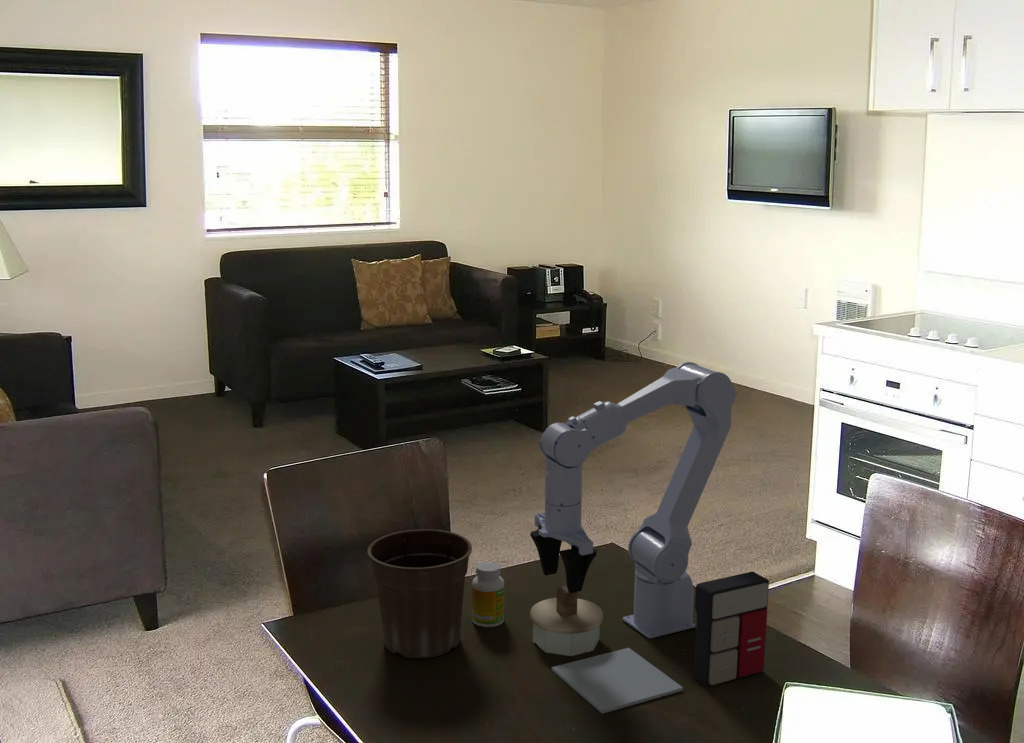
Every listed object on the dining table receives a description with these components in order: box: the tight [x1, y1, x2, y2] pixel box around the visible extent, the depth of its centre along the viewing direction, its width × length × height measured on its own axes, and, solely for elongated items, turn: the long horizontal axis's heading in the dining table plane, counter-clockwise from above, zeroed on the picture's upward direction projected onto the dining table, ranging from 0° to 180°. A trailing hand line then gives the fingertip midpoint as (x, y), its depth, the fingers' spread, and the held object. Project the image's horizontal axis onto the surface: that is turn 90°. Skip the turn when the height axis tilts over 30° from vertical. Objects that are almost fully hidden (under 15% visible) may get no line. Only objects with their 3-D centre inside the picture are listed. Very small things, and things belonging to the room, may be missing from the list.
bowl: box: [532, 622, 601, 657], centre depth 167 cm, size 10×10×4 cm
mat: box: [551, 647, 684, 715], centre depth 155 cm, size 14×14×1 cm
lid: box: [529, 585, 604, 634], centre depth 166 cm, size 12×12×5 cm
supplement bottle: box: [471, 561, 505, 628], centre depth 173 cm, size 5×5×10 cm
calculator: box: [693, 571, 770, 688], centre depth 155 cm, size 11×4×15 cm, turn 117°
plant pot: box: [367, 528, 473, 659], centre depth 164 cm, size 16×16×16 cm
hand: (562, 582), depth 164 cm, fingers open, 7 cm apart
